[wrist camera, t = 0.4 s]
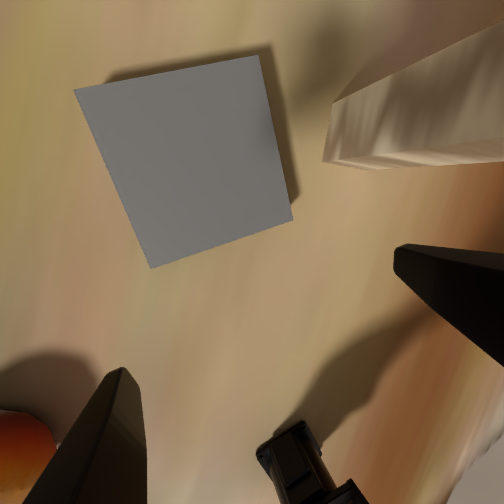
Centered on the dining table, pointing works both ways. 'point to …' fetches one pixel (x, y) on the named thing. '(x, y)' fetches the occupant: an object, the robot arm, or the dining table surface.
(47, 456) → the fruit
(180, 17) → the dining table surface
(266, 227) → the plinth
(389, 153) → the maple post
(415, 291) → the robot arm
